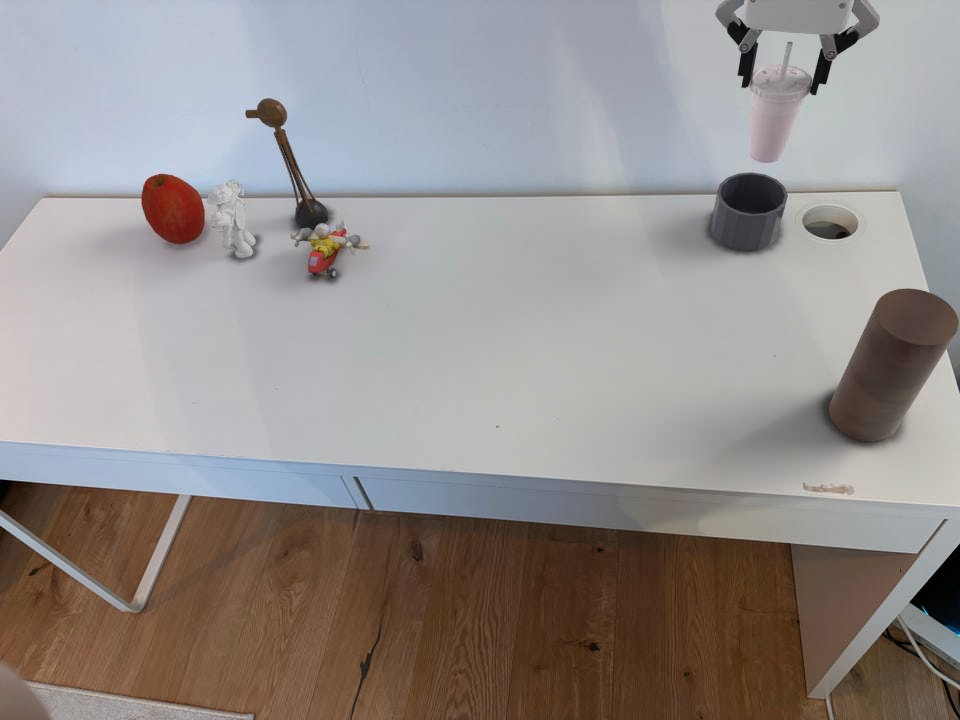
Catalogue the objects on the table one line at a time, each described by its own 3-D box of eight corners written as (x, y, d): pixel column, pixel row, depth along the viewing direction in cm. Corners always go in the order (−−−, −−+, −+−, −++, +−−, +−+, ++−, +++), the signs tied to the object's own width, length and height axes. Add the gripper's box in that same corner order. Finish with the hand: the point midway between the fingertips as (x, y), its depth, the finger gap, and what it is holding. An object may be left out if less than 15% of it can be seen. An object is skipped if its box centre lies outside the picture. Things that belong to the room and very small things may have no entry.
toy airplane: (316, 289, 99) (301, 255, 94) (295, 251, 104) (280, 216, 99) (377, 263, 101) (366, 228, 96) (353, 226, 106) (342, 191, 101)
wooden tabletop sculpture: (286, 229, 107) (235, 110, 92) (296, 208, 110) (248, 89, 95) (323, 230, 106) (278, 109, 91) (332, 209, 109) (290, 88, 93)
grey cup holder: (782, 214, 98) (792, 178, 93) (771, 256, 93) (781, 221, 89) (718, 203, 100) (725, 168, 96) (705, 244, 96) (711, 209, 91)
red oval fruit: (213, 210, 112) (183, 151, 104) (215, 244, 107) (183, 186, 99) (161, 223, 112) (126, 166, 103) (159, 258, 107) (123, 201, 98)
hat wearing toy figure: (252, 269, 103) (219, 202, 94) (226, 270, 103) (190, 204, 94) (266, 226, 108) (236, 159, 99) (241, 227, 109) (209, 161, 99)
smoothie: (736, 169, 86) (757, 56, 75) (737, 136, 89) (757, 25, 79) (795, 171, 84) (824, 56, 73) (793, 138, 88) (821, 24, 77)
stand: (900, 398, 78) (960, 297, 66) (895, 449, 75) (958, 353, 62) (832, 382, 81) (878, 281, 68) (824, 431, 77) (871, 334, 64)
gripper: (927, -111, 65) (869, 74, 79) (729, -114, 71) (707, 59, 85) (923, -76, 61) (862, 113, 75) (713, -82, 67) (692, 95, 81)
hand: (780, 83), depth 80 cm, fingers closed on smoothie, 6 cm apart
